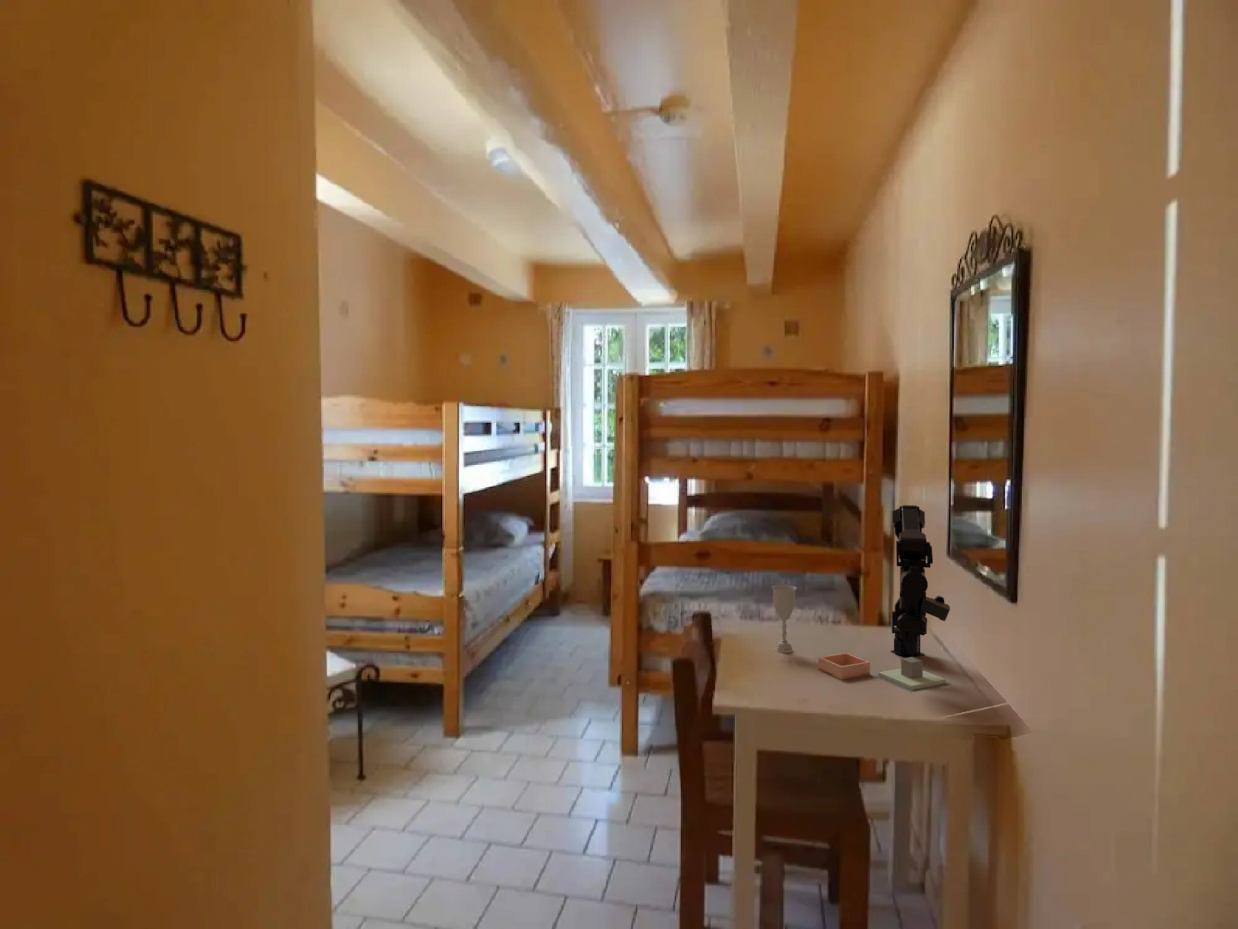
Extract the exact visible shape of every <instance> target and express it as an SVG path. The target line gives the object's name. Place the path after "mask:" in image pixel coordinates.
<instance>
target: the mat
mask: <svg viewBox="0 0 1238 929" xmlns="http://www.w3.org/2000/svg"><path fill="white" fill-rule="evenodd" d="M872 677H875V678H877V679H879V680H881V681H884V682H886V683H889V684H891V685H893V686H896V687H897V688H900V689H903V690H905V691H907V692H910V693H913V692H914V693H915V692H919V691H924V690H928V689H934V688H941V687H944V686H950V685H952V683H951V682H948V681H946V683H945V684H940V685H935V686H930V687H924V688H919V689H914V690H910V689H908V688H905V687H903V686H901V685H898V684H896V683H893V682H891V681H889V680H886V679H884V678H882V677H879V674H875V675H872Z"/></svg>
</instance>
